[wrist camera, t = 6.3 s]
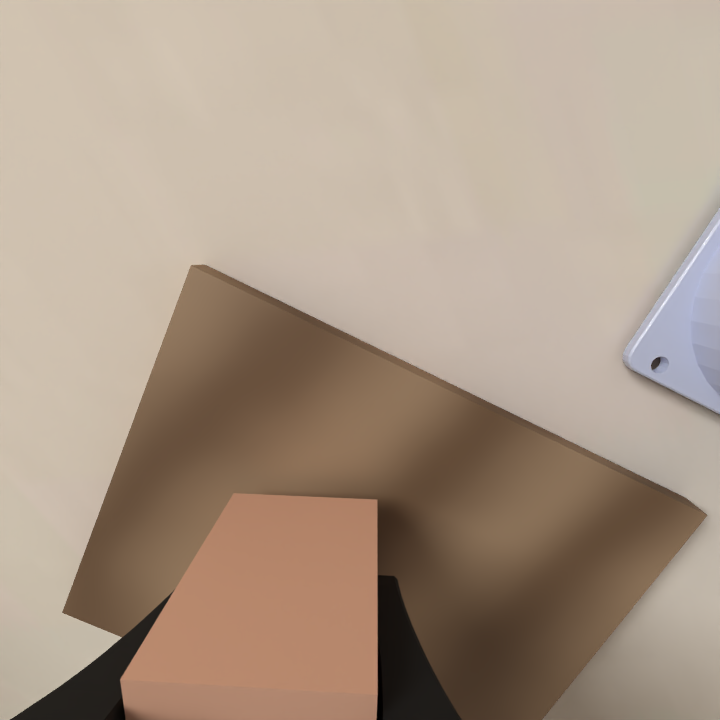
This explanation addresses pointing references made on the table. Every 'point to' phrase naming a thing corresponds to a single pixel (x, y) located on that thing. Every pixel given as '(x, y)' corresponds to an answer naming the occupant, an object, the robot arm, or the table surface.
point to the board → (380, 495)
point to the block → (268, 618)
